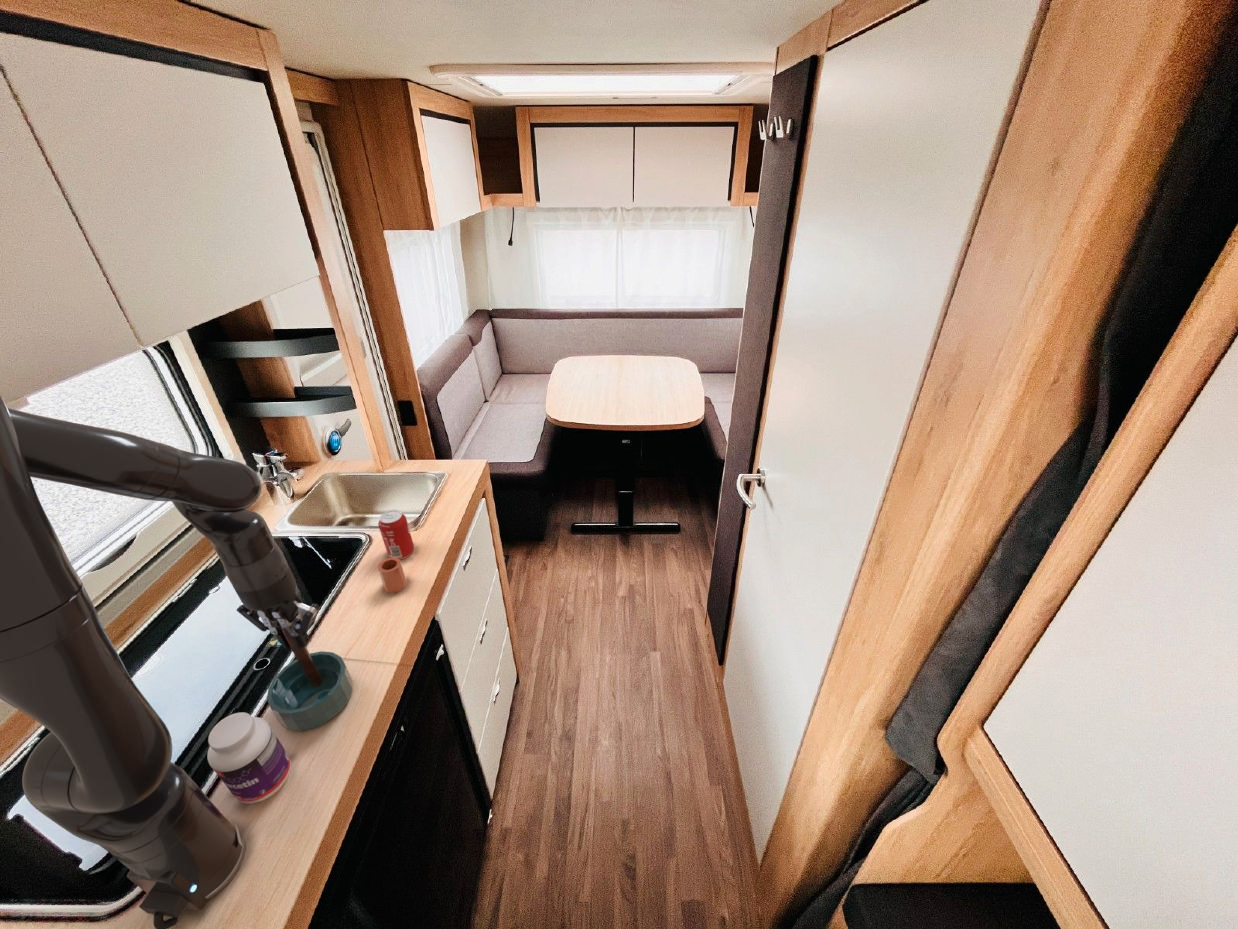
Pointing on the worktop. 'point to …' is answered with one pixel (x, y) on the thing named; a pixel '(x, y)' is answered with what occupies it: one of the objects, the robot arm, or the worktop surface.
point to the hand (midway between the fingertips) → (296, 644)
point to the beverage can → (396, 534)
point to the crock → (392, 575)
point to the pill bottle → (248, 757)
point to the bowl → (310, 692)
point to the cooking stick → (304, 661)
